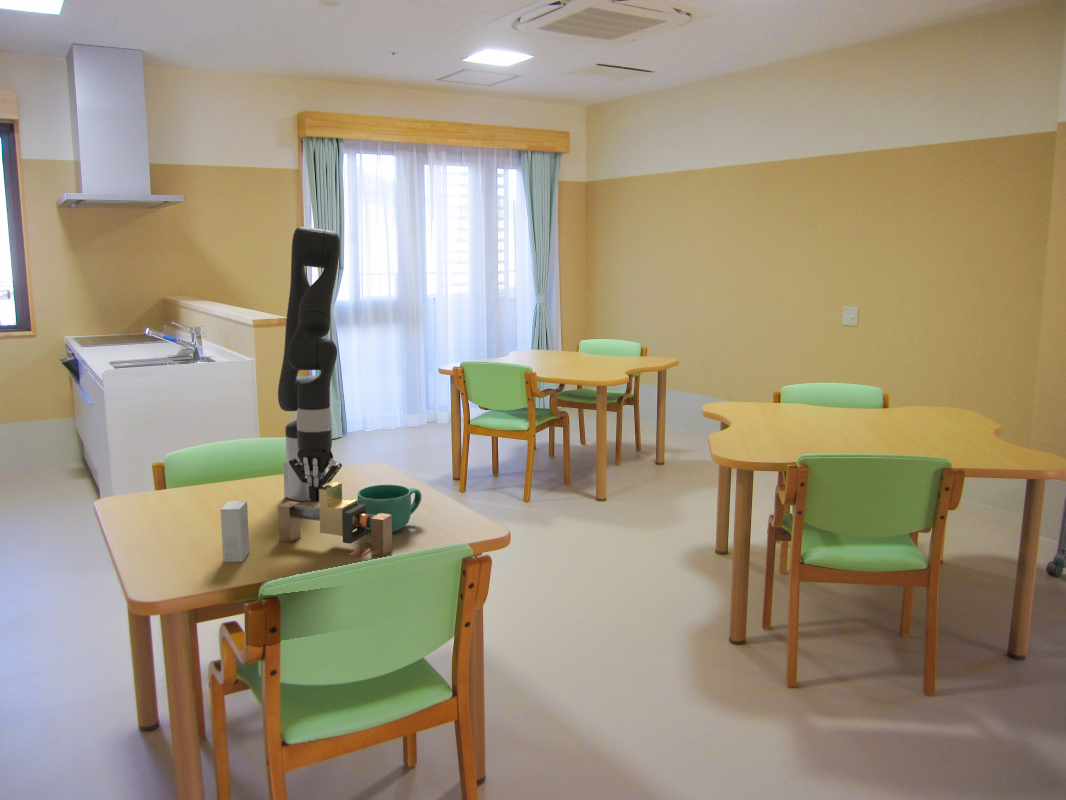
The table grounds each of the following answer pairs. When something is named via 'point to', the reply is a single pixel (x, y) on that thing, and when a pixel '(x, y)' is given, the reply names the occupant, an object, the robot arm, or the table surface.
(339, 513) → the tan notched block
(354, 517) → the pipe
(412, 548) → the table surface
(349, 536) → the dark grey square plate
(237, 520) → the skincare box
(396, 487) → the mug
